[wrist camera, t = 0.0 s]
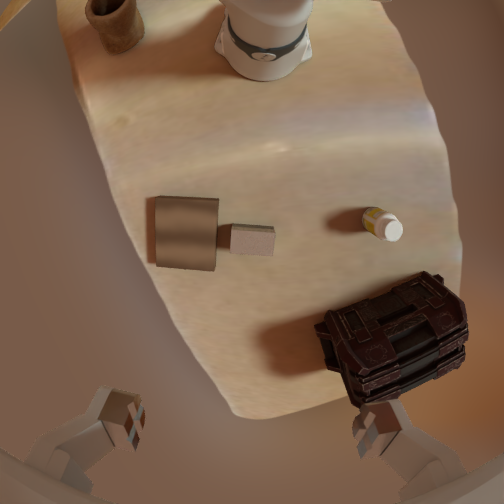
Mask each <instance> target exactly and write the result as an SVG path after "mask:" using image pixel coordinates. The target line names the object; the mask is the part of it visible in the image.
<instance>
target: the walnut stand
mask: <svg viewBox="0 0 504 504" xmlns="http://www.w3.org/2000/svg"><path fill="white" fill-rule="evenodd" d="M218 209H219V199H216V198H199V197H179V196H158V197H156V198H155V239H156V267H167V268H178V269H190V270H202V271H214V270H215V267H216V248H217V227H218Z"/></svg>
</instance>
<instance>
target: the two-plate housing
mask: <svg viewBox="0 0 504 504" xmlns="http://www.w3.org/2000/svg"><path fill="white" fill-rule="evenodd" d="M274 242H275V230H274V227H272V226H260V225H247V224H234V223H233V225H232V229H231V244H230V253H234V254H248V255H261V256H273V251H274Z"/></svg>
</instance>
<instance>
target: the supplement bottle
mask: <svg viewBox="0 0 504 504" xmlns="http://www.w3.org/2000/svg"><path fill="white" fill-rule="evenodd" d="M362 223H363V226H364V228H365V229H366V230H368V231H369V232H371V233H372V234H374V235H375V236H376V237H378V238H379V239H381V240H385V241H387V240H389V241H396V240H398V239H399V238H400V237H401V235H402V232H403V228H402V225H401V223H400V222H399V221H398V220H397V218H396V217H395V216H394V215H393V214H391V213H389V212H387V211H384V210H382V209H380V208H377V207H371V208H368V209H367V210H366V211H365V212H364V214H363V217H362Z"/></svg>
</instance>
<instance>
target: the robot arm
mask: <svg viewBox="0 0 504 504" xmlns="http://www.w3.org/2000/svg"><path fill="white" fill-rule="evenodd" d="M219 1H220V2H221V3H223V4H224V5H225V6H226V8H225V12H224V15H225V16H226V17H225V20H224V21H223V22H222V27H221V29H220V32H219V34H218V37H217V40H216V42H215V45H214V49H215V51H216V52H218V53H219V54H221V55H222V56H224V57H225V58H226V59H227V60H228V62H229V63H230V65H231V66H232V67H233V68H234V69H235V70H236V71H237V72H238V73H239V74H241V75H243V76H245V77H247V78H249V79H253V80H258V81H271V80H276V79H279V78H282V77H284V76H286V75H287V74H289V73H290V72H291V71H292V70H293V69H294V68H295V67H296V66H297V65H298V64H300V63H303V62H305V61H308V60H309V59H310V58H311V57H312V50H311V44H310V39H309V34H308V29H307V20H308V18H309V16H310V14H311V12H312V9H313V0H219ZM373 1H380V2H389V1H391V0H373ZM220 42H222V43H220ZM141 401H142V400H141V397H140V395H139V394H135V393H131V392H127V391H123V390H119V389H115V388H111V387H108V386H104V385H102V386H101V387H99V389H98V390H97V393H96V394H95V396H94V398H93V400H92V402H91V404H90V405H89V407H88V410H87V411H86V413H85V415H82V414H81V415H79V416H77V417H75V418H74V419H72V420H70V421H68V422H66V423H64V424H62V425H60V426H58V427H57V428H55V429H53V430H51V431H49V432H47V433H45V434H43V435H41V436H39V437H37V439H36V441H35V442H34V444H33V446H32V448H31V450H30V451H29V453H28V455H27V457H26V459H25V461H24V462H23V461H21V460H19V459H18V458H16V457H15V456H13V455H12V454H10V453H8V452H7V451H5V450H4V449H2V448H1V447H0V504H117V503H114V502H111V501H108V500H105V499H102V498H99V497H96V496H94V495H91V494H90V493H91V491H92V488H93V483H92V481H91V480H90V479H89V478H88V477H87V475H86V474H85V473H84V472H86V471H87V470H88V469H89V468H91V467H92V466H93V465H95V464H96V463H97V462H98V461H100V460H101V459H102V458H103V457H104V456H106V455H107V454H108V453H110V452H111V451H112V450H113V449H114V447H116V448H120V449H125V450H129V451H133V452H136V449H137V446H138V443H139V440H140V438H139V436H138V433H139V432H140V431H142V430H143V427H144V424H145V410H144V408H143V407H142V406H141V405H140V403H141ZM359 411H360V414H359V415H357V416H356V417H355V419H354V421H353V426H352V431H353V436H354V438H355V439H356V440H357V441H359V443H358V445H357V449H358V452H359V455H360V459H367V458H373V457H378V456H380V458H381V459H382V460H383V461H384V462H385V463H387V465H389V466H390V467H391V468H392V469H393V470H394V471H395V472H396V473H397V474H398V475H400V476H401V477H402V478H403V479H404V480H405V481H406V482H408V483H407V484H406V485H405V486H404V487H403V488H401V489H400V491H399V496H400V499H401V502H398V503H395V504H504V452H503V453H502V454H500V455H499V456H497V457H495V458H494V459H492V460H491V461H489V462H487V463H486V464H484V465H482V466H480V467H479V468H477V469H475V470H473V471H472V472H469V473H468V474H467V472H466V470H465V468H464V466H463V464H462V462H461V460H460V458H459V456H458V454H457V452H456V451H454V450H453V449H451V448H449V447H448V446H446V445H444V444H443V443H441V442H440V441H438V440H436V439H434V438H433V437H431V436H430V435H428V434H427V433H425V432H424V431H422V430H420V429H419V428H417V427H413V425H412V423H411V421H410V419H409V417H408V416H407V413H406V411H405V409H404V407H403V405H402V404H401V401H400V400H398V399H393V400H387V401H379V402H372V403H365V404H363V405H362V406H361V407H360V409H359Z"/></svg>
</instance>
